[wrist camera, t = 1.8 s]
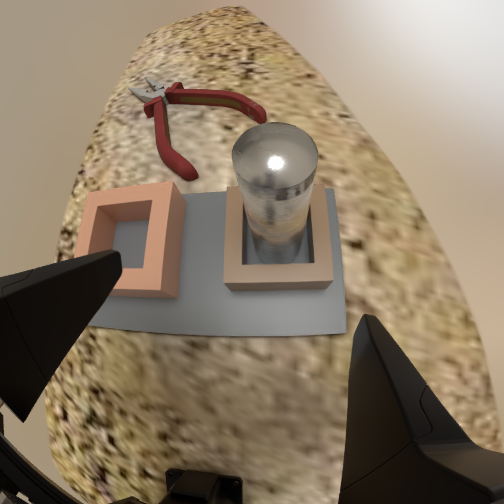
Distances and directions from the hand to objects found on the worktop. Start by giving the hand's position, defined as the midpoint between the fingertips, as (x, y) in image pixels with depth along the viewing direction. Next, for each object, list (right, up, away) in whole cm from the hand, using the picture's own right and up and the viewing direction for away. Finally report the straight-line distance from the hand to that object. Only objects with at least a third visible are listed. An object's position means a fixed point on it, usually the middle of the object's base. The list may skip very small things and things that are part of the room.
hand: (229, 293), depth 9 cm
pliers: (-6, +18, +21) cm, 28 cm away
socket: (-9, +2, +14) cm, 17 cm away
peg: (+3, +2, +13) cm, 13 cm away
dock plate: (-3, +1, +14) cm, 14 cm away
